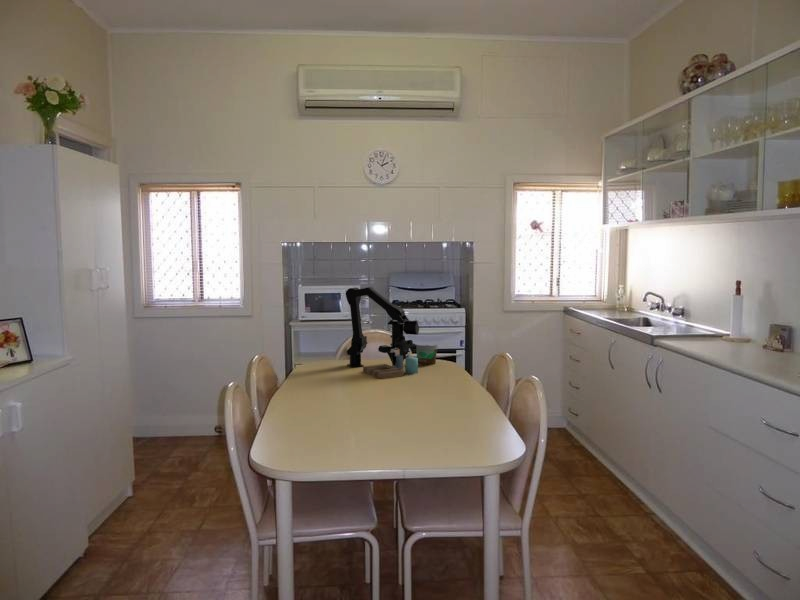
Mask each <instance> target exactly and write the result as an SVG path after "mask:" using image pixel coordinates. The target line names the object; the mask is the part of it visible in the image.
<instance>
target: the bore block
mask: <svg viewBox="0 0 800 600" xmlns="http://www.w3.org/2000/svg"><path fill="white" fill-rule="evenodd" d="M362 371H363V373H366V374H368V375H370V376H373V377H376V378H378V379H381V380H382V379H383V380H384V379H389V378H397V377H403V376H404V369H402V370H400V369H398V368H395V367H392V365H390V364H388V363H380V364H372V365H371V364H370V365H364V366H362Z"/></svg>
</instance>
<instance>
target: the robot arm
mask: <svg viewBox="0 0 800 600" xmlns="http://www.w3.org/2000/svg"><path fill="white" fill-rule="evenodd" d="M365 296H367V297H369V298H370V299H371V300H372V301H373V302H375V303H376V304H377V305H379V306H380V307H381V308H382V309H384V310H385V312H386V314H387V315H388V316H389V318H390V320H389V321H388V322H387V325H391V335H390V338H391V343H390V345H387V344H385V345H379V346H378V352H380V353H382V354H387V355H388V357H389V359H390V361H391V365H392V364H393V365H394V366H395V354H397V352H395V351H397V350H399V354H401V355H403V362H405V358H406V357H407V354H408V353H410V352H411V351H414V350H415V351H416V344H417V343H414V341H413V339H407V340H406V337H405V335H415V336H416V335H419V332H420V326H419V322H418V321H419V320H409V318H408V317H407V315H406V313H405V310H404V309H403V308H402V307H401V306H399V305H397V304H395V303H392V302H390V301H389V300H388V299H386V298H385V297H384V296H382V295H381V294H380V293H379V292H377V291H376V290H375V289H374V287H372V286H367V287H364V288H358V287H350V288H348V289H346V291H345V297H346V301H347V304H348V305H349V308H350V319H351V328H352V329H351V330H352V337H351V339H350V340H351V342H350V347H349V348H348V349H347V350H346V354H347V356H349V363H347V365H346V366H348V367H350V368H358V367H363V366H365V365H364V364H362V353H363V352H364V350H365V349H366V348H367V345H368V339H367V338H368V337H367V336H368V335H364V333H363V330H362V329H363V328H362V319H361V311H360V310H361V308H360V304H361V300H362V297H365ZM404 333H405V335H404Z"/></svg>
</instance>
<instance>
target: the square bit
mask: <svg viewBox="0 0 800 600" xmlns="http://www.w3.org/2000/svg"><path fill="white" fill-rule="evenodd" d="M391 366H392V367H395V368H398V369H400V370H401V369H402V370H404V361H403V355H401V354H400V353H396V354H395V366H394V365H393V364H392V363H391Z"/></svg>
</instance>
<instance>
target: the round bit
mask: <svg viewBox="0 0 800 600" xmlns="http://www.w3.org/2000/svg"><path fill="white" fill-rule="evenodd" d="M404 362H405V364H404V365H405V369H404V370H405V371H404V372H405V374H407V373H408V374H407V375H415V373H416V374H418V373H419V364H418V358H417V356H416V357H415V356H405V358H404Z"/></svg>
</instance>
